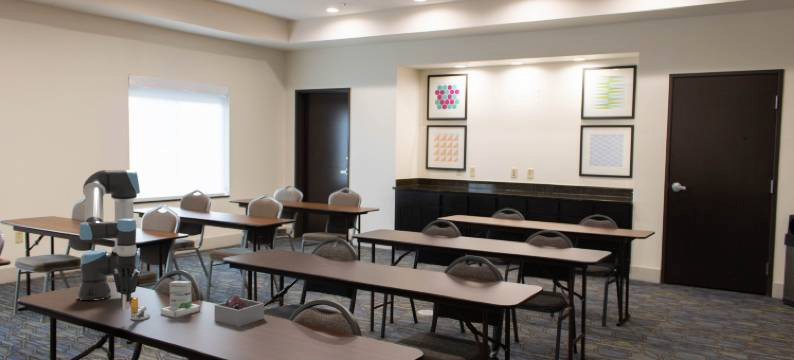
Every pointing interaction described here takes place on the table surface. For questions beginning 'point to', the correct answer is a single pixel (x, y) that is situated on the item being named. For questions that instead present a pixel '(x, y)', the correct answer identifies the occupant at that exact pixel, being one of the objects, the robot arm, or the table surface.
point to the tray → (179, 311)
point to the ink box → (180, 294)
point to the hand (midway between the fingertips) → (125, 308)
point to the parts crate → (240, 313)
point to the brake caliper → (235, 303)
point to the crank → (136, 307)
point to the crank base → (141, 316)
